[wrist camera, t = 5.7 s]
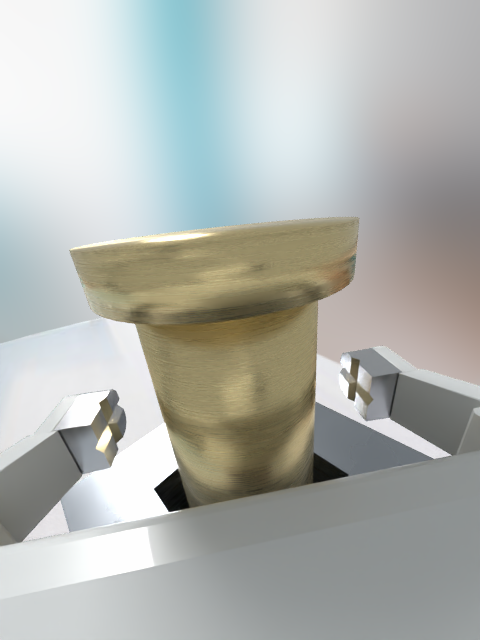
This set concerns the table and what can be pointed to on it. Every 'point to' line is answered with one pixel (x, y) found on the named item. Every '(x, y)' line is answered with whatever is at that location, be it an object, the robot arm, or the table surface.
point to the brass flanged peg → (228, 341)
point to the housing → (166, 485)
